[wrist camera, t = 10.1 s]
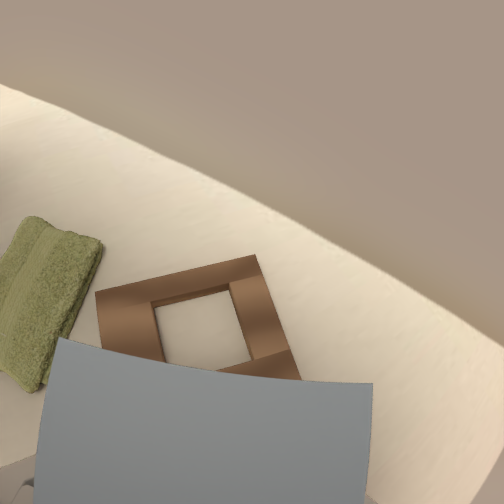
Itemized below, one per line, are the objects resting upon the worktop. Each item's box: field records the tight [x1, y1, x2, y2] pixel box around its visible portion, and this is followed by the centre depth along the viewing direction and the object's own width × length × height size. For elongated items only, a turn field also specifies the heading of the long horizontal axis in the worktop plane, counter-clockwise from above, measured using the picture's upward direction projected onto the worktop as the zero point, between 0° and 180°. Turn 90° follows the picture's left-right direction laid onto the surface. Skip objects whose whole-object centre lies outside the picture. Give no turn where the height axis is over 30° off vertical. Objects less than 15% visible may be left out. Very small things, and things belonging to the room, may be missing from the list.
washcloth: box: [0, 216, 103, 393], centre depth 27 cm, size 13×18×3 cm
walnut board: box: [95, 254, 302, 381], centre depth 25 cm, size 24×16×2 cm, turn 18°
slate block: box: [33, 337, 373, 504], centre depth 7 cm, size 4×4×11 cm
